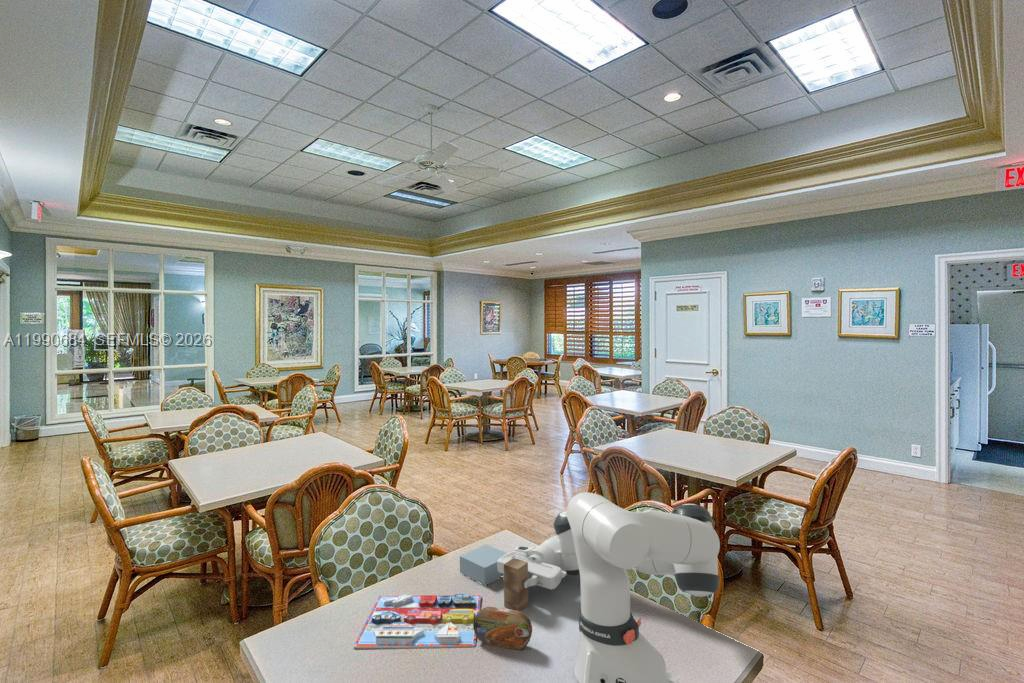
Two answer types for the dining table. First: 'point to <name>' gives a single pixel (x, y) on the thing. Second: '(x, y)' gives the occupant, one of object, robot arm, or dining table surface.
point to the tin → (503, 627)
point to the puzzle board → (420, 622)
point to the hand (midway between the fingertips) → (514, 581)
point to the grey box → (481, 564)
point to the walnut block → (515, 584)
